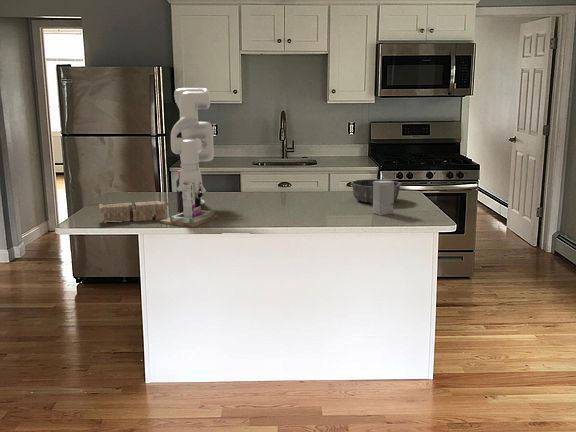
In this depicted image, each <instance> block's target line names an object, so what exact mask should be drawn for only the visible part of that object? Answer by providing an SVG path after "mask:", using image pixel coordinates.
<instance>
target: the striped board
mask: <svg viewBox="0 0 576 432" xmlns="http://www.w3.org/2000/svg"><path fill="white" fill-rule="evenodd" d="M215 219H218V215H215V212H214V211H213V210H204V209H203V210H202V209H201V214H200V215H199V216H196V217H194V218H184V213H183V212H181V213H177V214H174V215H171V216H169V217H167V218H166V217H165V219H159V224H164V225H172V226H173V225H174V226H181V227H182V226H183V227H189V228H191V227H192V228H194V227H196V226H199V225H202V224H205V223H207V222H210V221H213V220H215Z"/></svg>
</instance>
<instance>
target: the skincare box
mask: <svg viewBox="0 0 576 432" xmlns="http://www.w3.org/2000/svg"><path fill="white" fill-rule="evenodd" d="M392 181H393V180H392ZM392 181H374V182H373V203H372V213H373V214H374V215H375V214H376V215H379V216H384V215H385V216H386V215H393V214H394V203H395V200H394V182H392Z"/></svg>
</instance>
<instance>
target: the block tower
mask: <svg viewBox="0 0 576 432" xmlns="http://www.w3.org/2000/svg"><path fill="white" fill-rule="evenodd" d="M98 206H99V207H98V208H99V213H101V214H102V222H103V221H104V222H105V221H130V222H131V221H132V222H141V221H153V218H154V219H155V220H163V219H166V203H165V202H164V201H160V200H155V201H139V202H134V207H133V203H132V202H125V203H124V202H119V203H108V204H103V203H99V204H98ZM131 219H133V220H131Z"/></svg>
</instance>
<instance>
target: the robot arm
mask: <svg viewBox="0 0 576 432" xmlns="http://www.w3.org/2000/svg"><path fill="white" fill-rule="evenodd" d="M173 94H174V95H173V97H174V101H175V103H176V106H177V108H178V111H179V119H178V121H176V123H175V124H174V125H173V127H172V129H171V131H170V149H171V152H172V153H173V154H175V155H179V157H180V168H181V169H180V170H181V171H180V179H179V186H178V188H177V187H176V191H177V190H178V191H179V192H180V194H181V195H182V184H183V183H185V182H187V183H193V187H194V193H195V196H196V199H195V206H196V207H199V206H200V205H201V206H202V205H204V204H205V200H204V199H202V197H203V196H204V195H205V194H206V192H207V190H206V189H205V187H204V185H203V178H202V172H201V169H200V164H199V163H200V162H211V161H212V160H214V157H215V156H214V155H215V154H214V153H215V149H214V130H213V127H212V126H213V125H212V123H211V122H209V121H199V116H198V115H199V111H198V110H208V109H209V108H210V106H211V96H210V95H211V93H210V90H209V89H208V88H205V87H181V88H177V89H175V90H174V93H173ZM180 133H181V137H177V136H178V135H179V134H180ZM182 197H183V196H182Z"/></svg>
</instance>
